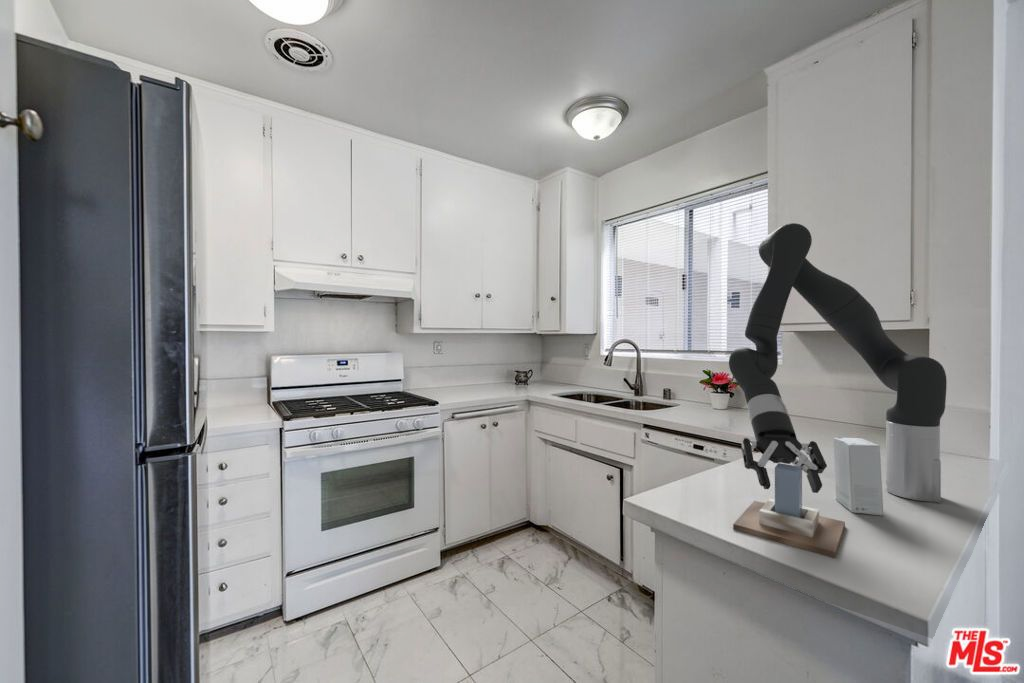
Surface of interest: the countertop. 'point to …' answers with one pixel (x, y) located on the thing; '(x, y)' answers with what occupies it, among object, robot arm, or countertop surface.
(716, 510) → the countertop surface
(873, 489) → the skincare box
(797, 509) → the plug
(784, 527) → the socket board
